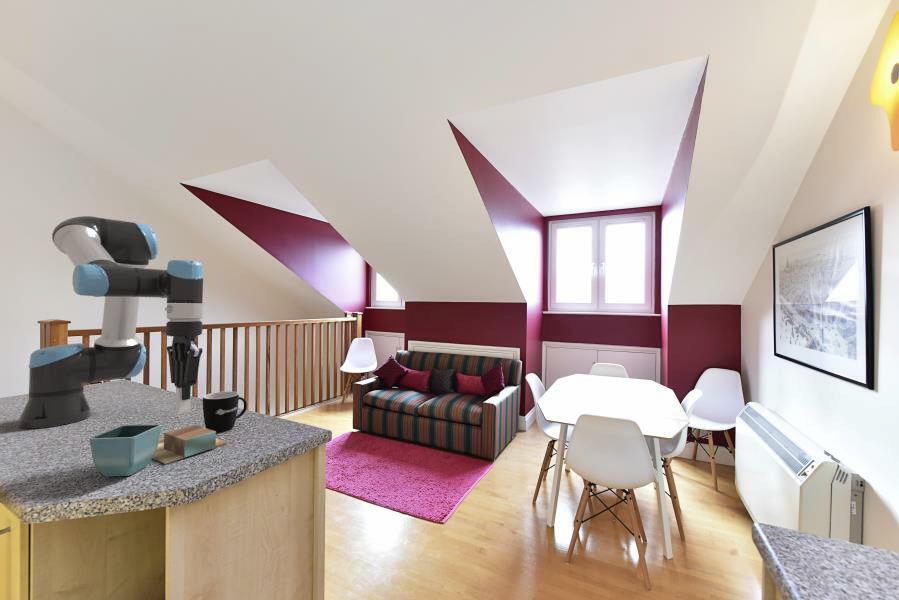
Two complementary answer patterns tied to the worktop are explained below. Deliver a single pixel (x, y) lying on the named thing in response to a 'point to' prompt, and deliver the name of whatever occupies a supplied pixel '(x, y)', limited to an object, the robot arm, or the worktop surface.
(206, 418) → the mug
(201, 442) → the block
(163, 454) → the mat
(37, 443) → the worktop surface
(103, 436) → the flower pot
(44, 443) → the worktop surface
